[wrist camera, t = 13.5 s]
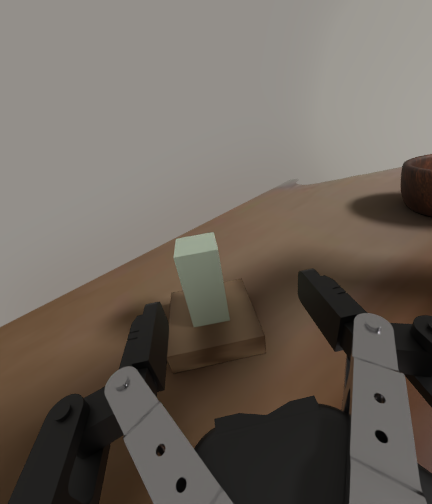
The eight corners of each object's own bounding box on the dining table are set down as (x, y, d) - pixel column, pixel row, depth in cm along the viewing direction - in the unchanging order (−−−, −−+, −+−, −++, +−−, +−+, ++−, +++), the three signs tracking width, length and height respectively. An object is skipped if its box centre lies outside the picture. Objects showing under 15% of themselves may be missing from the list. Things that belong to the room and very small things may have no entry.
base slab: (243, 293, 35) (241, 278, 33) (265, 352, 25) (264, 335, 24) (176, 307, 34) (171, 292, 33) (172, 373, 25) (165, 357, 23)
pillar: (224, 296, 30) (213, 231, 25) (230, 320, 26) (217, 249, 21) (193, 302, 30) (176, 238, 25) (193, 327, 26) (173, 257, 21)
